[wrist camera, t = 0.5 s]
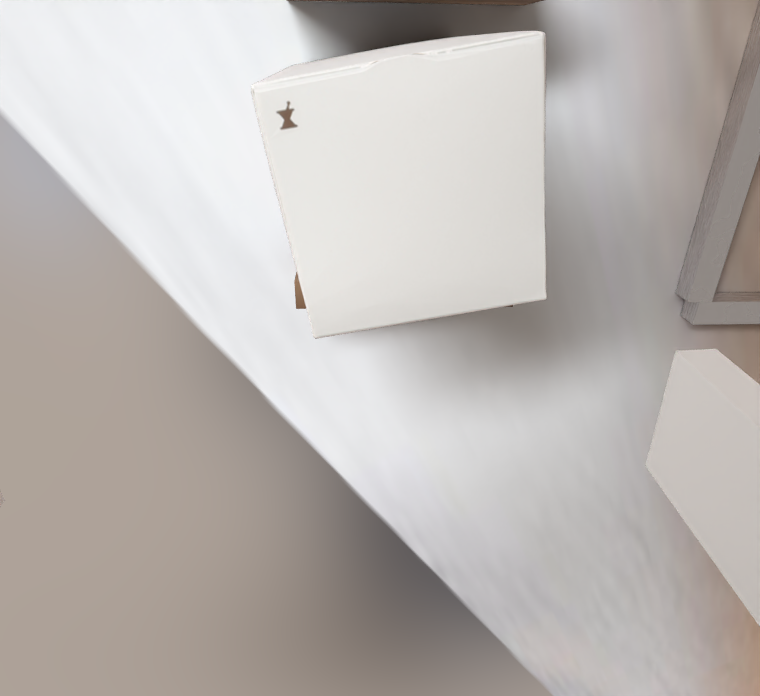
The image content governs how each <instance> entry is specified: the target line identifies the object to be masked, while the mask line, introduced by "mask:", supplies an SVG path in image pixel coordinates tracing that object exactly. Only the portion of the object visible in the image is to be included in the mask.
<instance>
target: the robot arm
mask: <svg viewBox="0 0 760 696" xmlns="http://www.w3.org/2000/svg"><path fill="white" fill-rule="evenodd" d="M645 466H646V468H647V469H648V470H649V472H650V473H651V475H652V476H653V477H654V479H655V480H656V482H657V483H658V485H659V486H660V487H661V489H662V490H663V492H664V493H665V494H666V496H667V497H668V499H669V500H670V501H671V503H672V504H673V506H674V507H675V508H676V510H677V511H678V513H679V514H680V515H681V517H682V518H683V520H684V521H685V522H686V524H687V525H688V527H689V528H690V529H691V531H692V532H693V534H694V535H695V536H696V538H697V539H698V541H699V542H700V543H701V545H702V546H703V548H704V549H705V550H706V552H707V553H708V555H709V556H710V558H711V559H712V560H713V562H714V563H715V565H716V566H717V567H718V569H719V570H720V572H721V573H722V574H723V576H724V577H725V579H726V580H727V581H728V583H729V584H730V586H731V587H732V588H733V590H734V591H735V593H736V594H737V595H738V597H739V598H740V600H741V601H742V602H743V604H744V605H745V607H746V608H747V609H748V611H749V612H750V614H751V615H752V616H753V618H754V619H755V621H756V622H757V624H758V625H759V626H760V384H758V383H757V382H756V381H755V380H753V379H752V378H751V377H750V376H749V375H747V374H746V373H745V372H744V371H742V370H741V369H740V368H739V367H738V366H736V365H735V364H734V363H733V362H731V361H730V360H729V359H728V358H727V357H725V356H724V355H723V354H722V353H720V352H719V351H718V350H717V349H701V350H680V351H675V355H674V359H673V363H672V367H671V370H670V374H669V378H668V382H667V385H666V389H665V393H664V397H663V401H662V404H661V408H660V412H659V416H658V419H657V423H656V427H655V431H654V435H653V438H652V442H651V446H650V450H649V454H648V457H647V461H646V465H645ZM4 501H5V500H4V497H3V495H2V493H1V491H0V506H1V505H2V504H3V503H4Z"/></svg>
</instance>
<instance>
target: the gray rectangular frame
mask: <svg viewBox="0 0 760 696" xmlns="http://www.w3.org/2000/svg"><path fill="white" fill-rule="evenodd" d="M759 155H760V1H759V5H758V8H757V12H756V15H755V19H754V22H753V26H752V29H751V32H750V36H749V39H748V43H747V46H746V50H745V53H744V57H743V60H742V64H741V67H740V71H739V74H738V78H737V81H736V84H735V88H734V91H733V95H732V98H731V102H730V105H729V109H728V112H727V116H726V119H725V123H724V126H723V130H722V133H721V136H720V140H719V143H718V147H717V150H716V154H715V157H714V161H713V164H712V168H711V171H710V175H709V178H708V182H707V185H706V189H705V192H704V195H703V199H702V202H701V206H700V209H699V213H698V216H697V220H696V223H695V227H694V230H693V234H692V237H691V241H690V244H689V247H688V251H687V254H686V258H685V261H684V265H683V268H682V272H681V275H680V279H679V282H678V286H677V289H676V294H677V295H679V296H680V297H681V298H683V299H684V300H685V302H684V305H683V308H682V312H681V316H683V317H684V318H685V319H686V320H688V321H689V322H690V323H691V324H692V325H707V324H760V292H739V293H715V291H716V288H717V285H718V282H719V279H720V276H721V272H722V269H723V266H724V263H725V260H726V257H727V254H728V251H729V248H730V245H731V242H732V239H733V236H734V232H735V229H736V226H737V223H738V220H739V217H740V214H741V211H742V208H743V205H744V202H745V199H746V196H747V192H748V189H749V186H750V183H751V180H752V177H753V174H754V171H755V168H756V165H757V162H758V159H759Z"/></svg>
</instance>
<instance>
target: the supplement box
mask: <svg viewBox="0 0 760 696" xmlns="http://www.w3.org/2000/svg"><path fill="white" fill-rule="evenodd" d="M545 92H546V35H545V33H544V32H541V31H516V32H503V33H492V34H481V35H470V36H458V37H446V38H440V39H434V40H427V41H421V42H415V43H409V44H403V45H397V46H391V47H386V48H380V49H375V50H369V51H364V52H358V53H353V54H348V55H342V56H337V57H332V58H327V59H321V60H316V61H311V62H305V63H300V64H295V65H291V66H289V67H287V68H285V69H283V70H281V71H279V72H277V73H275V74H273V75H271V76H269V77H267V78H265V79H263V80H261V81H258V82H256V83H255V84H253V85H252V86H251V94H252V98H253V103H254V107H255V111H256V115H257V119H258V123H259V127H260V131H261V135H262V139H263V143H264V148H265V152H266V156H267V159H268V163H269V167H270V171H271V175H272V179H273V183H274V187H275V190H276V194H277V198H278V202H279V206H280V210H281V213H282V217H283V221H284V225H285V229H286V233H287V236H288V240H289V244H290V248H291V251H292V255H293V259H294V263H295V266H296V270H297V274H298V278H299V282H300V286H301V290H302V294H303V298H304V301H305V305H306V309H307V313H308V316H309V320H310V324H311V329H312V333H313V337H314V338H315V339H317V338H323V337H328V336H334V335H340V334H346V333H352V332H358V331H364V330H370V329H376V328H382V327H387V326H393V325H399V324H405V323H411V322H417V321H423V320H429V319H435V318H441V317H447V316H453V315H459V314H465V313H471V312H477V311H482V310H488V309H493V308H499V307H504V306H510V305H516V304H522V303H528V302H535V301H541V300H545V299H547V295H546V243H545Z"/></svg>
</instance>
